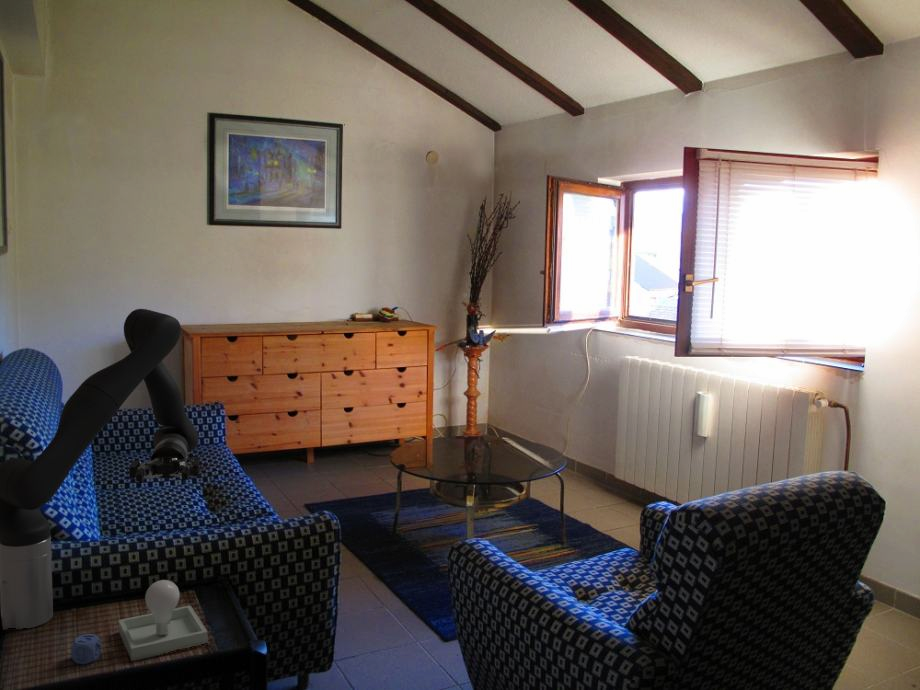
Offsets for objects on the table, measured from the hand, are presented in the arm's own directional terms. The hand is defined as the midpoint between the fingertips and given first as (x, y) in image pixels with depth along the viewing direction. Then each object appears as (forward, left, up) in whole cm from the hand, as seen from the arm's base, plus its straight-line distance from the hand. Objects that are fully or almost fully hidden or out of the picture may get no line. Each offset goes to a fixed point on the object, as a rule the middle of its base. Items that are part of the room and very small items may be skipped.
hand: (161, 478), depth 173 cm
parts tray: (-3, -15, -28) cm, 32 cm away
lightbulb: (-3, -15, -28) cm, 31 cm away
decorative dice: (-17, -16, -28) cm, 37 cm away
